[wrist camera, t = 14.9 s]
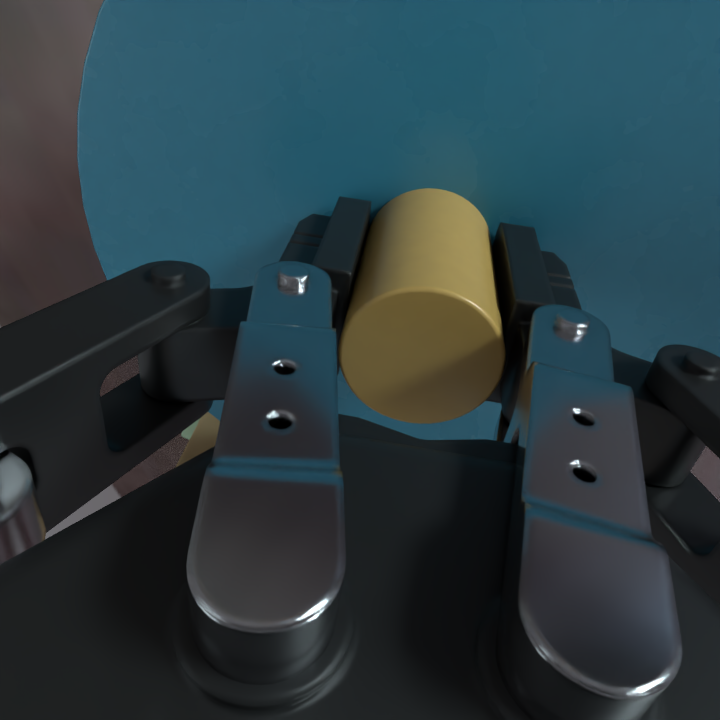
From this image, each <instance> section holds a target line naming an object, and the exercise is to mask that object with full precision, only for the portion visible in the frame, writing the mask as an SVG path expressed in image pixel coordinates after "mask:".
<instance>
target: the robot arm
mask: <svg viewBox="0 0 720 720" xmlns="http://www.w3.org/2000/svg"><path fill="white" fill-rule="evenodd" d="M370 212H371V201H367V200H360V199H354V198H348V197H342V196H339V198H338V201H337V203H336V206H335V208H334V211H333V213H332V216H325V215H318V214H312V215H310V216H308V217H306V218H304V219H302V220H301V221H299V223H298V225H297V227H296V229H295V231H294V234H293V235H292V237H291V239H290V242H288V244H287V246H286V248H285V250H284V252H283V254H282V256H281V258H280V260H279V262H274V263H270V264H268V265H265V266H263V267H261V268H260V269H259V270H258V271H257V272H256V275H255V279H254V284H253V286H249V287H243V288H217V289H210V277H209V274H208V273H207V272H206V271H205V270H204V269H203V268H201V267H199V266H197V265H195V264H192V263H188V262H183V261H173V260H165V261H156V262H151V263H147V264H144V265H141V266H139V267H137V268H134V269H132V270H130V271H128V272H125V273H123V274H121V275H119V276H116V277H114V278H112V279H110V280H107V281H105V282H103V283H101V284H98V285H96V286H94V287H92V288H89V289H87V290H85V291H83V292H80V293H78V294H76V295H74V296H71V297H69V298H67V299H65V300H62V301H60V302H58V303H56V304H53V305H51V306H49V307H47V308H44V309H42V310H40V311H38V312H35V313H33V314H31V315H29V316H26V317H24V318H22V319H20V320H17V321H15V322H13V323H11V324H8V325H6V326H4V327H2V328H0V720H720V502H719V501H718V500H717V499H716V498H715V497H714V496H713V495H712V494H711V493H710V492H709V491H708V490H707V488H706V487H705V486H704V485H703V484H702V483H701V482H700V481H699V480H698V479H697V478H696V477H695V476H694V475H693V474H692V473H691V472H690V471H691V469H692V467H693V466H694V464H695V463H696V461H697V459H698V458H699V456H700V455H701V453H702V451H703V450H704V448H705V446H707V447H708V448H709V449H710V450H711V451H712V452H713V453H714V454H715V455H717V456H718V457H719V458H720V357H718V356H716V355H714V354H712V353H710V352H708V351H705V350H702V349H699V348H696V347H692V346H687V345H678V344H676V345H667V346H664V347H662V348H661V349H659V351H658V353H657V355H656V357H655V359H654V361H653V363H652V362H649V361H646V360H643V359H640V358H637V357H634V356H631V355H629V354H626V353H623V352H621V351H618V350H616V349H614V348H612V347H611V338H610V332H609V329H608V328H607V326H606V325H605V324H604V323H603V322H602V321H601V320H600V319H598V318H597V317H595V316H593V315H592V314H590V313H588V312H586V311H583V310H582V308H581V305H580V302H579V299H578V296H577V293H576V291H575V289H574V285H573V282H572V279H570V278H571V276H570V273H569V270H568V267H567V265H566V264H565V263H564V262H563V261H562V260H561V259H560V258H559V257H558V256H557V255H555V254H554V253H552V252H546V251H541V250H540V246H539V242H538V239H537V235H536V232H535V229H534V227H527V226H521V225H515V224H509V223H502V222H501V223H500V224H499V226H498V229H497V232H496V235H495V239H494V243H493V246H492V252H493V259H494V267H495V274H496V282H497V290H498V297H499V305H500V313H501V320H502V328H503V336H504V343H505V351H506V362H505V367H504V371H503V374H502V377H501V380H500V381H499V383H498V385H497V387H496V388H495V390H494V391H493V393H492V394H491V395H490V396H489V397H488V398H487V399H486V400H485V401H489V402H495V403H501V404H502V409H501V411H500V414H499V417H498V420H497V423H496V427H495V432H494V438H493V440H488V439H465V440H423V439H419V438H415V437H412V436H410V435H407V434H404V433H401V432H398V431H396V430H393V429H390V428H387V427H384V426H382V425H379V424H376V423H373V422H371V421H368V420H365V419H362V418H359V417H353V416H347V415H342V414H338V382H337V376H338V374H339V370H340V364H339V358H338V347H339V340H340V336H341V332H342V329H343V325H344V321H345V317H346V314H347V310H348V306H349V302H350V298H351V295H352V291H353V287H354V283H355V279H356V276H357V272H358V268H359V264H360V261H361V257H362V253H363V249H364V245H365V242H366V238H367V234H368V227H369V220H370ZM136 355H138V364H139V374H137V375H136V376H134V377H133V378H131V379H129V380H128V381H126V382H124V383H123V384H121V385H119V386H118V387H116V388H114V389H113V390H111V391H109V392H108V393H106V394H105V395H103V396H101V397H100V389H101V385H102V383H103V381H104V379H105V378H106V376H107V375H108V374H109V373H110V372H111V371H112V370H113V369H114V368H116V367H117V366H119V365H121V364H123V363H124V362H126V361H128V360H130V359H131V358H133V357H135V356H136ZM213 400H224V405H223V409H222V414H221V419H220V424H219V429H218V434H217V439H216V444H215V446H214V447H212V448H210V449H208V450H206V451H205V452H203V453H201V454H199V455H197V456H196V457H194V458H192V459H190V460H188V461H187V462H185V463H183V464H181V465H179V466H177V467H176V468H174V469H172V470H170V471H168V472H167V473H165V474H163V475H161V476H159V477H158V478H156V479H154V480H152V481H150V482H149V483H147V484H145V485H143V486H141V487H139V488H138V489H136V490H134V491H132V492H130V493H129V494H127V495H125V496H123V497H121V498H120V499H118V500H116V501H115V502H112V503H111V504H109V505H107V506H105V507H103V508H102V509H100V510H98V511H96V512H94V513H93V514H91V515H89V516H87V517H85V518H83V519H82V520H80V521H78V522H76V523H74V524H72V525H71V526H69V527H67V528H65V529H63V530H62V531H60V532H58V533H57V534H54V535H53V536H51V537H49V538H47V539H45V535H46V532H48V531H49V530H51V529H52V528H53V527H55V526H56V525H57V524H59V523H60V522H61V521H63V520H64V519H65V518H67V517H68V516H69V515H71V514H72V513H73V512H75V511H76V510H77V509H79V508H80V507H81V506H82V505H84V504H85V503H87V502H88V501H89V500H91V499H92V498H93V497H95V496H96V495H98V494H99V493H100V492H101V491H103V490H104V489H106V488H107V487H108V486H110V485H111V484H112V483H114V482H115V481H116V480H118V479H119V478H120V477H122V476H123V475H124V474H126V473H127V472H128V471H130V470H131V469H132V468H134V467H135V466H136V465H138V464H139V463H141V462H142V461H143V460H145V459H146V458H147V457H149V456H150V455H151V454H153V453H154V452H155V451H157V450H158V449H159V448H161V447H162V446H163V445H165V444H166V443H167V442H169V441H170V440H171V439H173V438H174V437H175V436H177V435H178V434H179V433H181V432H182V431H183V430H185V429H186V428H188V427H189V426H190V425H192V424H193V423H194V422H196V421H197V420H198V419H200V418H201V417H202V416H204V415H205V414H206V413H207V412H208V411H209V410H210V408H211V406H212V404H213Z"/></svg>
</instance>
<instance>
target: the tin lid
mask: <svg viewBox="0 0 720 720" xmlns="http://www.w3.org/2000/svg"><path fill="white" fill-rule="evenodd" d="M77 161H78V169H79V177H80V185H81V192H82V200H83V206H84V210H85V214H86V218H87V222H88V226H89V230H90V233H91V237H92V241H93V245H94V248H95V251H96V253H97V256H98V258H99V261H100V264H101V266H102V269H103V271H104V274H105V276H106V279H107V280H110V279H112V278H114V277H116V276H119V275H121V274H123V273H125V272H128V271H130V270H132V269H134V268H137V267H139V266H141V265H144V264H147V263H151V262H156V261H165V260H173V261H183V262H188V263H192V264H195V265H197V266H199V267H201V268H203V269H204V270H205V271H206V272H207V273H208V274H209V277H210V289H217V288H243V287H249V286H253V284H254V279H255V275H256V272H257V271H258V270H259V269H260V268H261V267H263V266H265V265H268V264H270V263H274V262H279V260H280V258H281V256H282V254H283V252H284V250H285V248H286V246H287V244H288V242H290V239H291V237H292V235H293V234H294V231H295V229H296V227H297V225H298V223H299V221H301V220H302V219H304V218H306V217H308V216H310V215H312V214H318V215H325V216H332V213H333V211H334V208H335V206H336V203H337V201H338V198H339V196H342V197H348V198H354V199H360V200H367V201H371V212H370V220H369V227H368V234H367V238H366V242H365V245H364V249H363V253H362V257H361V261H360V264H359V268H358V272H357V276H356V279H355V283H354V287H353V291H352V295H351V298H350V302H349V306H348V310H347V314H346V317H345V321H344V325H343V329H342V332H341V336H340V340H339V347H338V358H339V364H340V370H339V374H338V376H337V382H338V414H342V415H347V416H353V417H359V418H362V419H365V420H368V421H371V422H373V423H376V424H379V425H382V426H384V427H387V428H390V429H393V430H396V431H398V432H401V433H404V434H407V435H410V436H412V437H415V438H419V439H423V440H465V439H488V440H493V438H494V432H495V427H496V423H497V420H498V417H499V414H500V411H501V409H502V404H501V403H495V402H489V401H485V400H486V399H487V398H488V397H489V396H490V395H491V394H492V393H493V391H494V390H495V388H496V387H497V385H498V383H499V381H500V380H501V377H502V374H503V371H504V367H505V362H506V351H505V343H504V336H503V328H502V320H501V313H500V305H499V297H498V290H497V282H496V274H495V267H494V259H493V252H492V246H493V243H494V239H495V235H496V232H497V229H498V226H499V224H500V223H501V222H502V223H509V224H515V225H521V226H527V227H534V229H535V232H536V235H537V239H538V242H539V246H540V250H541V251H546V252H552V253H554V254H555V255H557V256H558V257H559V258H560V259H561V260H562V261H563V262H564V263H565V264H566V265H567V267H568V270H569V273H570V276H571V278H570V279H572V282H573V285H574V289H575V291H576V293H577V296H578V299H579V302H580V305H581V308H582V310H583V311H586V312H588V313H590V314H592V315H593V316H595V317H597V318H598V319H600V320H601V321H602V322H603V323H604V324H605V325H606V326H607V328H608V329H609V332H610V338H611V347H612V348H614V349H616V350H618V351H621V352H623V353H626V354H629V355H631V356H634V357H637V358H640V359H643V360H646V361H649V362H652V363H653V361H654V359H655V357H656V355H657V353H658V351H659V349H661V348H662V347H664V346H667V345H676V344H678V345H687V346H692V347H696V348H699V349H702V350H705V351H708V352H710V353H712V354H714V355H716V356H718V357H720V0H104V1H103V3H102V5H101V8H100V10H99V12H98V16H97V20H96V23H95V27H94V30H93V34H92V37H91V41H90V44H89V48H88V51H87V55H86V58H85V62H84V68H83V76H82V83H81V90H80V98H79V105H78V112H77ZM223 405H224V400H213V404H212V406H211V408H210V410H209V411H208V412H209V413H210V414H211V415H213V416H214V417H215V418H217V419H218V420H219V421H220V419H221V414H222V409H223Z"/></svg>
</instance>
